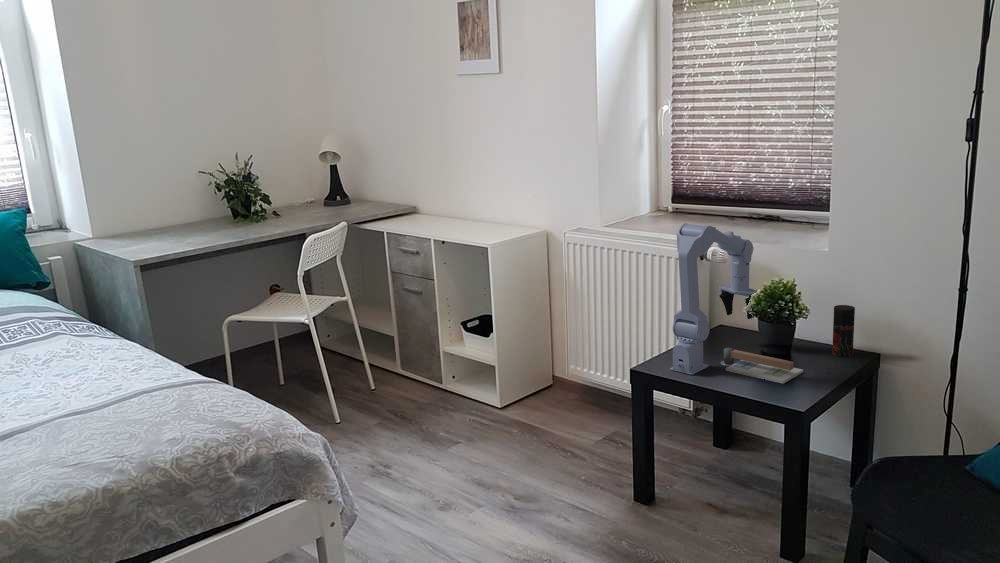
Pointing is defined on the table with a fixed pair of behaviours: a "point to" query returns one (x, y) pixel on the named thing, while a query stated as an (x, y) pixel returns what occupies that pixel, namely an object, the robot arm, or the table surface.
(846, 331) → the deodorant
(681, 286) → the robot arm
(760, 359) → the swing bar
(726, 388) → the table surface
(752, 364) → the label panel
